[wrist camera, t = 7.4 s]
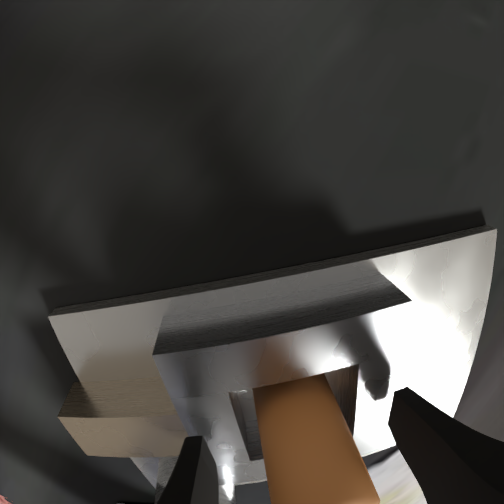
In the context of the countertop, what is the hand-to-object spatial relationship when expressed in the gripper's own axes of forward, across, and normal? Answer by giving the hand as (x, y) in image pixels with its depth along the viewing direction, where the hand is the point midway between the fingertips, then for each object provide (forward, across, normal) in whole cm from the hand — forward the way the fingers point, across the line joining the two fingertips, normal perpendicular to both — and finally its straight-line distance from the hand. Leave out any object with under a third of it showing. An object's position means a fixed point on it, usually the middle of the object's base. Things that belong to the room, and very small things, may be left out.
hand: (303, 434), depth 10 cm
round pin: (+3, 0, 0) cm, 3 cm away
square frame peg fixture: (+3, +3, 0) cm, 4 cm away
